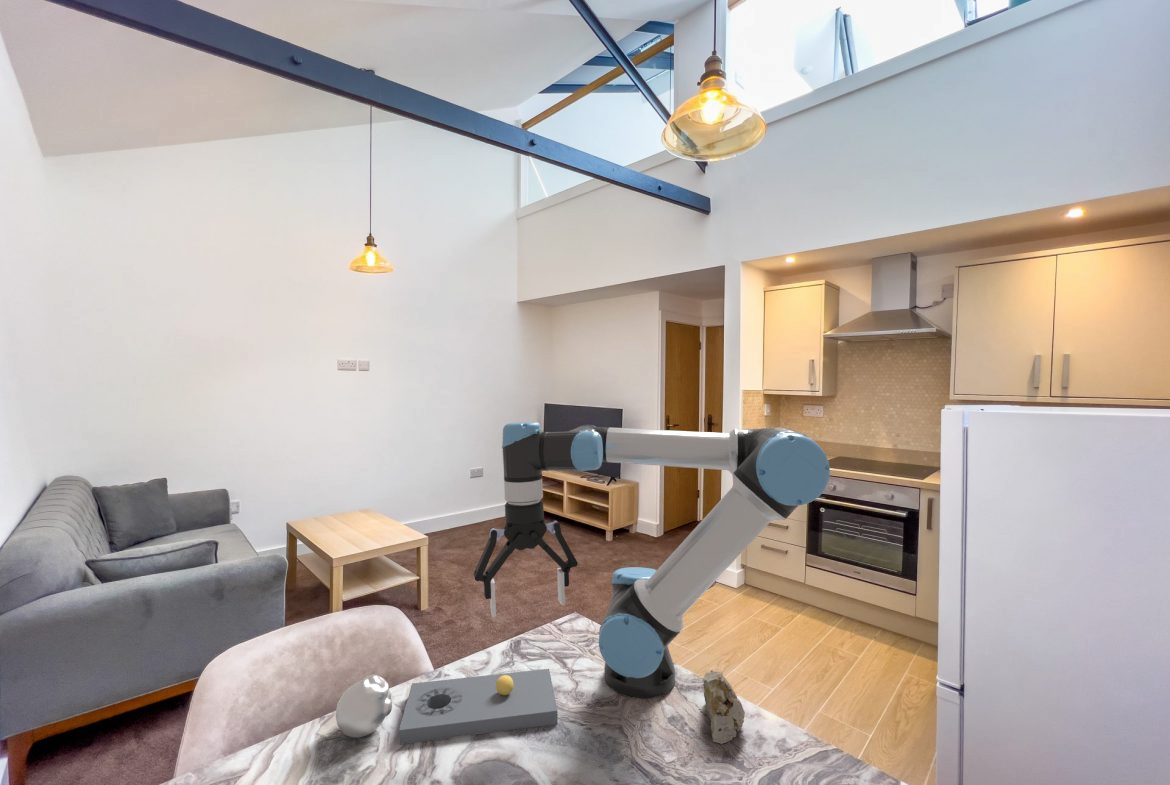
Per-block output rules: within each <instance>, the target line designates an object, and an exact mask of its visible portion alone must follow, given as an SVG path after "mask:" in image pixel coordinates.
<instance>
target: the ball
mask: <svg viewBox="0 0 1170 785" xmlns="http://www.w3.org/2000/svg"><path fill="white" fill-rule="evenodd" d="M513 685H514V684H513V680H512V678H511V677H510V676H508V675H503V676H501V677H500V678H499V679H498V680H497V683H496V689H497V691H498V693H499V694H501V695H507V694H509V693H510V692H511V691H512V689H513Z"/></svg>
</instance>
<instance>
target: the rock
mask: <svg viewBox="0 0 1170 785" xmlns="http://www.w3.org/2000/svg"><path fill="white" fill-rule="evenodd" d="M702 680H703V690H704V691H703V697H704V702H705V706H706V712H707V715H708V716H709V719H710V730H711V738H712V741H713V742H714V743H718V744H725V743H728V742H731V741H732V740H733V738H736V737H737V733H738V732H739V730H740V729H741V728H742V727H743V724H744V723H745V721H744V720H745V717H746V716H745V714H746V713H745V710H744V707H743V704H742V702H741V700H740V699H739V698H738V695H737V694H736V692H735V690H734V689H733V686H732V685H731V683H730V682H729V681H728V680H727V678H726V677H725V675H724V674H723V671H721V670H720V671H717V670H713V669H711V671H709V672H705V673H704V675H703V678H702Z"/></svg>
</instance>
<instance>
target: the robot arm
mask: <svg viewBox="0 0 1170 785" xmlns="http://www.w3.org/2000/svg"><path fill="white" fill-rule="evenodd" d="M501 448H502V463H503V464H502V465H503V482H504V483H503V484H504V485H503V487H504V490H503V491H504V500H505V501H506V502H505V504H504V516H505V519H504V520H505V526H504V528H495V527H493V526H492V527H490V528H489V532H488V540H487V542H486V544H485V547H484V549H483V552H482V554H481V556H480V558H479V560H478V563H477V565H476V568H475V570H474V572H473V577H474V578H473V579H474V580H475V581H476V582H482V583H483V595H484V598H485V600H490V602H489V604H490V605H489V607H490V615H491V617H492V618H497V605H496V604H497V603H496V602H497V600H496V581H495V579H494V577H495V576H496V574H497V573H498V572H499V570H500V569H501V568H502V566H503V565H504V564H505V562H506V561H507V559H508V558H509V557H510V555H511V554H513V552H514V551H515V550H517V551H524V550H526V549H531V550H533V549H535V548H536V547H537V546H539V547H540V548H541V549H542V550H544V552H545V553H546V554H547V555H548V556H549V557H550V558H551V559H552V560H553V561H554V562H555V563H556V564H557V565H558V566H559V567H558V568H556V572H557V573H556V577H557V600H558V603H560V606H563V607H564V606H566V592H565V591H566V589H565V588H566V587H569V586H570V585H569V584H570V572H571V569H572V568H576V567H577V566H578V564H579V563H578V561H577V559H576V557H575V555H574V554H573V551H572V549H571V548H570V546H569V545H568V543H567V541H566V539H565V538H564V536H563V534H562V528H561V524H560V523H559V522H558V521H557V520H556V519H553V520H552V521H551V522H549V523H545V517H544V516H545V513H544V512H545V511H544V501H543V500H542V499H543V498H544V491H543V490H544V489H543V471H546V472H548V471H569V472H570V471H580V472H585V471H597V470H599V469H600V468H601V467H602V463H614V464H615V463H616V464H631V465H632V464H633V465H646V466H661V467H674V468H675V467H676V468H689V469H692V468H693V469H702V470H703V469H705V470H706V469H707V470H722V471H728V472H729V473H730V474H731V476H732V487H731V488H730V489H729V490H728V491H727V492H726V493H725V495H724V496H723V497H722V498H721V499H719V501H718V503H717V504H716V505H714V507H713V508H712V509H711V510H710V511H709V512H708V513H707V515H706V516H705V517H704V518H703V519H702V520H701V521H700V522H699V523H698V524H697V526H696V527H695V528H693V530H692V531H691V532H690V533H689V534H688V535H687V536H686V538H685V539H684V540H683V541H682V542H681V543H680V544H679V546H678V547H676V548H675V550H674V551H673V552H672V553H671V554H670V555H669V556H668V557H667V559H666V560H665V561H663V563H662V564H661V565H660V566H659V567H658V569H655V568H649V567H643V566H642V567H641V566H640V567H638V566H630V567H623V568H622V567H621V568H618V569H616V570H615V571H613V573H612V576H611V577H612V579H611V582H610V583H611V584H612V585H611V586H612V589H611V590H612V593H611V600H610V602H609V605H608V607H607V610H606V613H605V616H604V618H603V621H602V623H601V625H600V627H599V632H598V634H599V635H598V647H599V653H600V655H601V657H602V659H603V661H604V668H603V669H604V675H603V676H604V681H605V683H606V684H607V686H608V687H609V688H610V689H611V690H613V691H614V692H616V693H618V694H619V695H622V696H624V697H627V698H632V699H641V700H645V699H646V700H647V699H655V698H658V697H661V696H663V695H666V694H667V693H669V692H670V691H671V690H673V688H674V686H675V684H676V668H675V665H674V662H673V658H672V655H671V653H670V649H669V647H668V646H669V645H670V644H671V642H672V641H674V639H675V638H676V637H677V636H678V635H679V634H680V633H681V632H682V631H683V629H684V615H685V614H686V613H687V612H688V611H689V610H690V609H691V607H693V605H695V603H696V602H697V601H698V600H699V599H700V598H701V597H702V596H703V595H704V593H706V592H707V591H708V590H709V589H710V587H711V586H712V585H713V584H715V582H716V581H717V579H719V578H720V576H722V575H723V573H725V571H726V570H727V569H728V568H729V567H730V566H731V565H732V564H733V563H734V562H735V560H736V559H737V558H739V556H740V555H741V554H742V553H743V551H745V550H746V549H747V548H748V547H749V545H750V544H751V543H752V542H753V541H754V540H755V539H756V538H757V536H759V535H760V534H761V532H762V531H763V530H765V528H767V526H768V525H769V524H770V523H771V522H773V521H786V520H787V519H788V518H789V516H790V515H791V514H792V513H793V512H794V511H795V510H796V509H797V508H798V507H799V506H804V505H807V504H809V503H811V502H813V501H815V500H817V499H818V498H819V497H820V496H821V495H822V494H823V493H824V491H825V490H826V488H827V486H828V485H829V480H830V477H831V476H830V475H831V469H830V468H831V467H830V462H829V459H828V457H827V455H826V452H825V451H824V450H823V448H822V447H821V446H820V445H819V444H818V443H817V442H816V441H815V440H814V439H813V438H810V437H809V436H807V435H806V434H805V433H801V432H799V431H795V430H792V429H790V428H786V427H780V426H778V427H777V426H775V427H764V428H763V427H762V428H733V429H732V430H731V431H730V432H712V431H711V432H710V431H709V432H708V431H692V430H691V431H688V430H687V431H686V430H668V429H650V428H649V429H648V428H647V429H645V428H631V427H630V428H626V427H611V426H610V427H606V426H604V427H603V426H595V425H592V424H583V425H580V426H577V427H576V428H573V429H570V430H567V431H566V430H565V431H554V432H553V431H551V432H550V431H542V428H541V424H540V423H539V422H538V421H517V422H509V423H506V424H505V425H504V426H503V428H502V445H501ZM547 531H549V533H550V534H551V535H553V536H554V537H555V539H556V541H557V544H559V546H560V549H561V550H562V552H563V554H564V555H565V557H566V559H567V560H566V561H565V560H564V559H563V558H562V557H561V556H560V555H559V554H558V553H557V552H556V550H554V549H553V548H552V547H551V546H550V545H549V544H548V543H547V542H546V541H545V540H544V539H543V538H544V536H545V534H546V533H547ZM503 536H504V537H505V538H506V540H507V541H506V542H505V543H504V545H503V546H502V549H501V550H500V552H499V553H498V554H497V556H496V557H495V558H494V560H493V561H491V563H490V565H489V564H488V563H489V561H490V560H491V557H492V555H493V552H494V551H495V548H496V545H497V542H499V541H500V540H501V537H503ZM488 565H489V566H488ZM487 567H488V568H487Z"/></svg>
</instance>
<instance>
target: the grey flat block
mask: <svg viewBox="0 0 1170 785" xmlns="http://www.w3.org/2000/svg"><path fill="white" fill-rule="evenodd" d="M503 675H508V676H510V677H511V678H512V680H513V684H514V685H513V689H512V691H511V692H510V693H509V694H507V695H501V694H499V693H498V691H497V689H496V683H497V680H498V679H499V678H500V677H501V676H503ZM551 677H552V676H551V671H550V668H544V669H533V670H524V671H515V672H505V673H498V674H497V673H496V674H495V673H494V674H489V675H487V674H486V675H477V676H469V677H459V678H451V679H449V678H448V679H441V680H440V679H439V680H431V681H422V682H414V683H411V685H410V689H409V692H408V697H407V701H406V703H405V704H406V705H405V707H404V711H403V715H402V719H401V722H400V725H399V732H398V740H399V741H398V742H399V745H404V744H413V743H420V742H427V741H436V740H443V739H451V738H457V737H458V738H460V737H466V736H475V735H476V736H477V735H481V734H489V733H490V734H491V733H497V732H499V733H500V732H505V731H513V730H514V731H515V730H521V729H529V728H537V727H543V726H551V725H552V726H553V725H558V722H559V721H558V720H559V719H558V706H557V701H556V697H555V693H554V692H555V691H554V686H553V681H552V678H551Z"/></svg>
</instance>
